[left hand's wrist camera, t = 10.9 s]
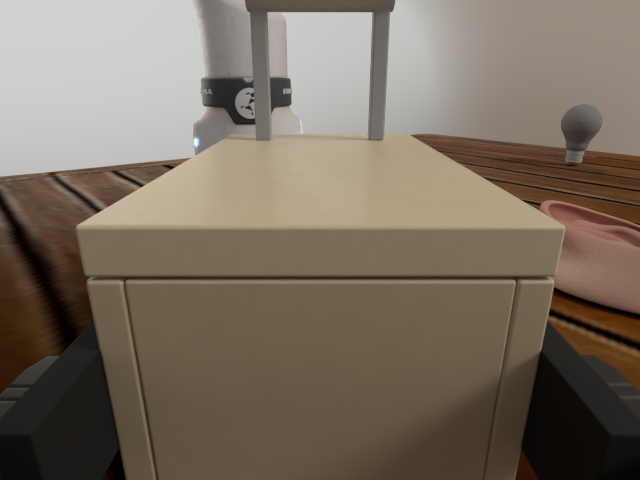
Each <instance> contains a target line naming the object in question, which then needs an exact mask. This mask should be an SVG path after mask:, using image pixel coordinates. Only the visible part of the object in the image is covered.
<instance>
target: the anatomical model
mask: <svg viewBox="0 0 640 480" xmlns="http://www.w3.org/2000/svg"><path fill="white" fill-rule="evenodd" d="M540 212H542V213H544V214H545V215H547V216H549V217H550V218H552V219H554V220H556V221H557V222H559V223H561V224H562V225H564V226H565V235H564V240H563V245H562V250H561V254H560V259H559V264H558V269H557V274H556V275H555V276H553V277H550V278H552V279H553V280H554V287H555V288H557V289H559V290H561V291H563V292H565V293H568V294H570V295H573V296H576V297H579V298H581V299H584V300H587V301H591V302H594V303H597V304H601V305H604V306H608V307H611V308H615V309H619V310H623V311H627V312H631V313H635V314H639V315H640V226H639V225H637V224H634V223H631V222H628V221H625V220H622V219H619V218H616V217H613V216H609V215H606V214H603V213H600V212H596V211H593V210H590V209H587V208H583V207H580V206H576V205H573V204H569V203H565V202H560V201H545V202H543V203H542V204H541V206H540Z"/></svg>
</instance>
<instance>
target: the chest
mask: <svg viewBox="0 0 640 480" xmlns="http://www.w3.org/2000/svg"><path fill="white" fill-rule="evenodd" d="M87 289H88V294H89V299H90V304H91V309H92V314H93V319H94V324H95V329H96V334H97V339H98V344H99V349H100V354H101V359H102V364H103V369H104V374H105V379H106V384H107V388H108V393H109V398H110V403H111V408H112V413H113V418H114V423H115V428H116V433H117V438H118V443H119V448H120V453H121V458H122V463H123V468H124V473H125V478H126V480H515V477H516V472H517V467H518V462H519V457H520V452H521V447H522V442H523V437H524V432H525V427H526V422H527V417H528V412H529V407H530V403H531V398H532V393H533V388H534V383H535V378H536V373H537V368H538V363H539V358H540V353H541V349H542V344H543V339H544V334H545V329H546V324H547V319H548V314H549V309H550V304H551V299H552V294H553V289H554V280H553V279H552V278H550V277H91V278H90V279H88V281H87Z"/></svg>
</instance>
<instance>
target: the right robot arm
mask: <svg viewBox="0 0 640 480" xmlns="http://www.w3.org/2000/svg"><path fill="white" fill-rule="evenodd" d="M191 1H192V3H193V7H194V10H195V13H196V18H197V23H198V30H199V37H200V44H201V52H202V61H203V71H204V77H236V78H202V79H201V94H202V103H203V105H204V106H205V110H204V112H203V114H202V116H201V117H200V118H199V119H198V120H197V121H196V123H194V143H195V156H196V155H197V154H199V153H201V152H203V151H204V150H206V149H208V148H209V147H211V146H213V145H214V144H216V143H218V142H220V141H221V140H223V139H225V138H226V137H228V136H230V135H232V134H256V126H255V106H254V86H253V65H252V45H251V24H250V12H248V11H247V9H246V5H245V0H191ZM267 13H268V41H269V68H270V95H271V122H272V134H303V129H302V122H301V121H299V119H298V118H297V117H295V116H294V114H293V113H292V112H291V110H290V107H289V106H290V105H291V94H292V89H291V82H290V79H289V78H271V77H287V42H286V21H285V18H284V15H283V13H282V12H267Z"/></svg>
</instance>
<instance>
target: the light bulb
mask: <svg viewBox="0 0 640 480" xmlns="http://www.w3.org/2000/svg"><path fill="white" fill-rule="evenodd" d="M601 125H602V115H601V113H600V112H599V110H598V109H597V108H596V107H594V106H592V105H588V104H581V105H577V106H575V107H573V108H571V109H570V110H569V111H567V112H566V114H565V115H564V117H563V118H562V121H561V129H562V131H563V134H564V136H565V139H566V148H567V153H568V154H566V155H567V156H566V159H565V161H566V162H568V163H569V164H574V165H576V164H579V163H581V162H582V161H581V160H583V159H582V157H583V156H582V155H584V152H585V150H586V149H587V147H588V144H589V142H590V141H591V139H592V138H593V137H594V136H595V135H596V133H597V132H598V131H599V130H600V128H601Z"/></svg>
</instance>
